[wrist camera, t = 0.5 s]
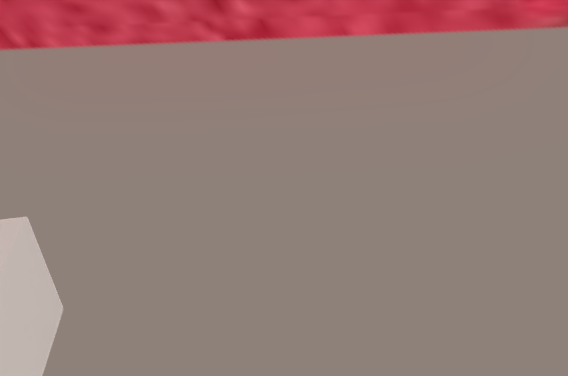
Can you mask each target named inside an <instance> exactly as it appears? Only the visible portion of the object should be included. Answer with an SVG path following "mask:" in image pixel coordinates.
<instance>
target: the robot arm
mask: <svg viewBox="0 0 568 376" xmlns="http://www.w3.org/2000/svg"><path fill="white" fill-rule="evenodd" d="M62 312H63V306H62V304H61V301H60V298H59V296H58V293H57V291H56V288H55V286H54V283H53V281H52V278H51V276H50V273H49V271H48V268H47V266H46V263H45V261H44V258H43V256H42V253H41V251H40V248H39V246H38V243H37V241H36V238H35V235H34V233H33V230H32V228H31V225H30V223H29V220H28V218H27V217H20V218H11V219H3V220H0V376H42V375H43V372H44V369H45V365H46V362H47V359H48V356H49V353H50V350H51V347H52V343H53V340H54V337H55V334H56V331H57V328H58V325H59V322H60V318H61V315H62Z"/></svg>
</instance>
